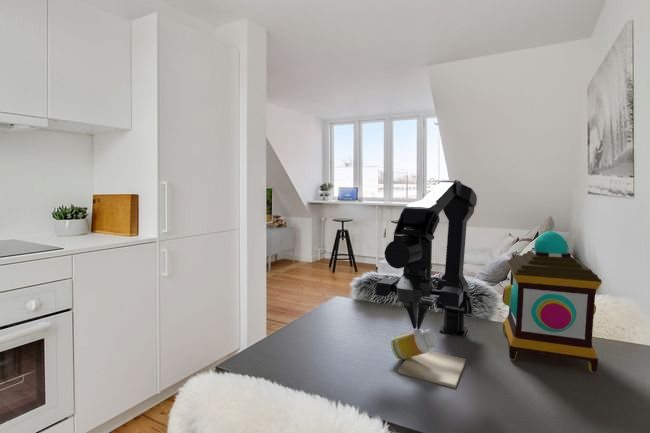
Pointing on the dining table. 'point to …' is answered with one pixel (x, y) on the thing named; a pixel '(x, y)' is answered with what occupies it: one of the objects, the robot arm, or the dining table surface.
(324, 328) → the dining table surface
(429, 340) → the supplement bottle
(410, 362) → the birch mat
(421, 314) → the robot arm
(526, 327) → the decorative lantern
